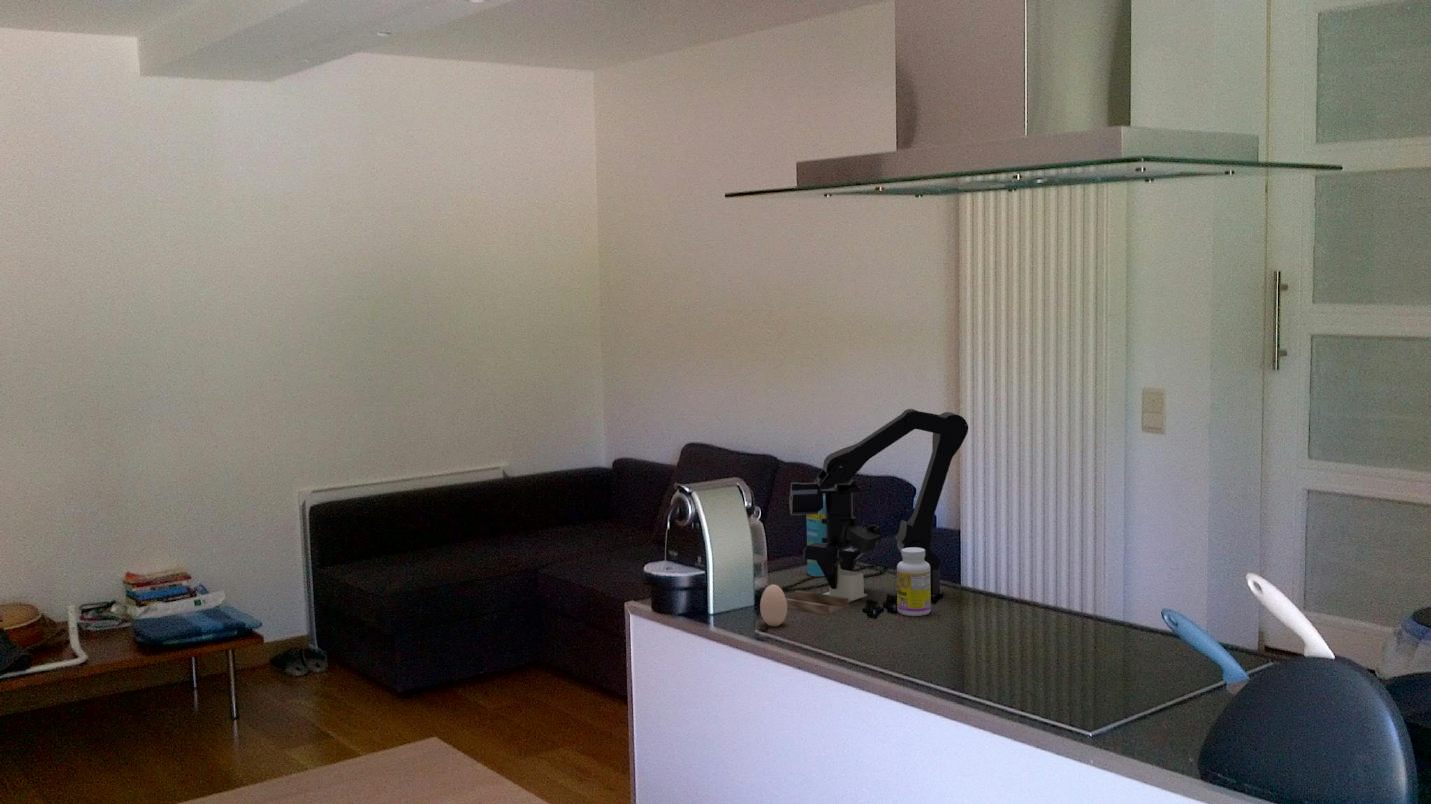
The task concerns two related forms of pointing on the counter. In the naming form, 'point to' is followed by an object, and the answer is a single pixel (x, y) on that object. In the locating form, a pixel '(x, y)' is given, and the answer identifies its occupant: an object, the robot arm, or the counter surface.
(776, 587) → the egg
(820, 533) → the tube
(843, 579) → the block
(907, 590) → the supplement bottle
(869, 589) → the counter surface
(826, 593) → the pad
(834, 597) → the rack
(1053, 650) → the counter surface
